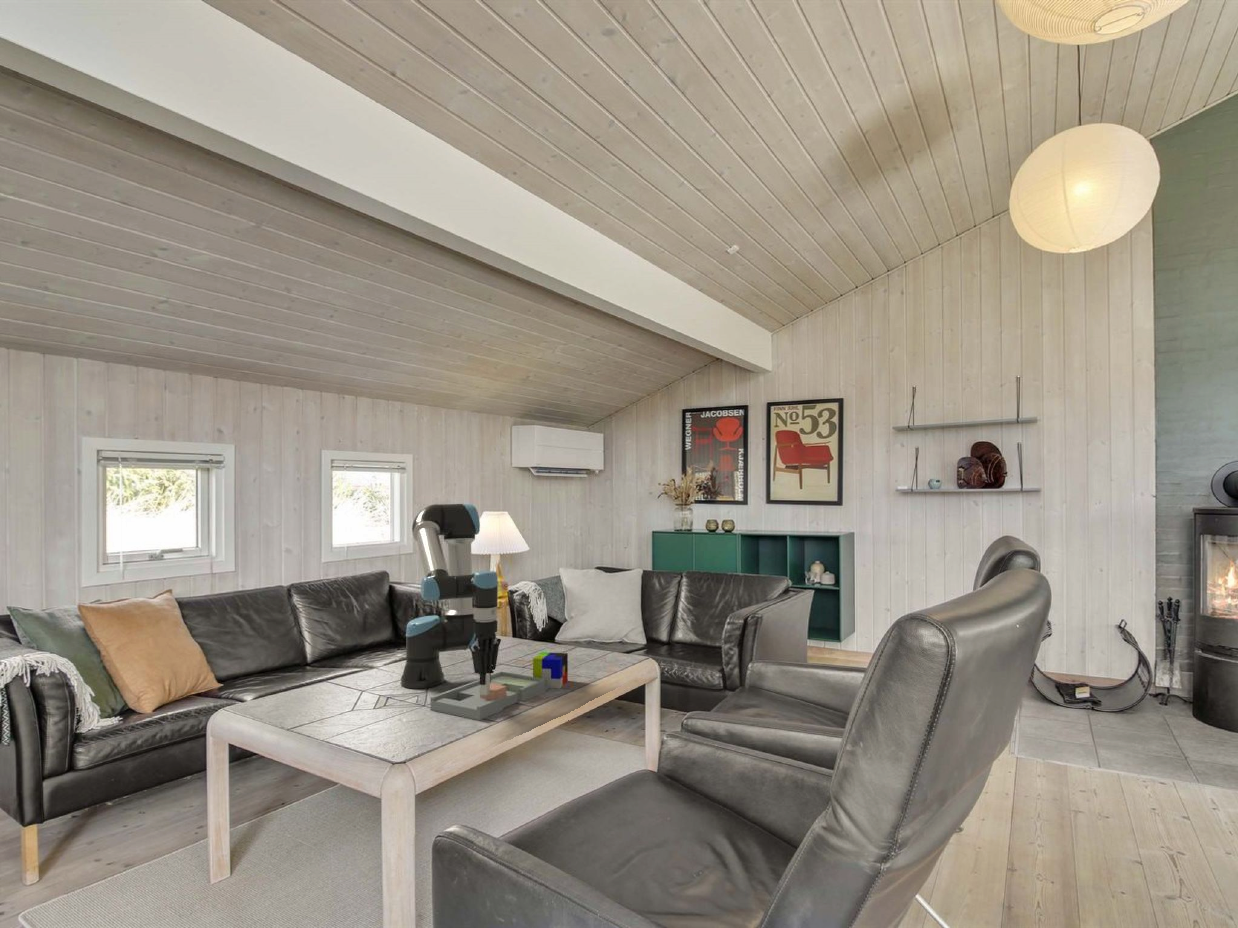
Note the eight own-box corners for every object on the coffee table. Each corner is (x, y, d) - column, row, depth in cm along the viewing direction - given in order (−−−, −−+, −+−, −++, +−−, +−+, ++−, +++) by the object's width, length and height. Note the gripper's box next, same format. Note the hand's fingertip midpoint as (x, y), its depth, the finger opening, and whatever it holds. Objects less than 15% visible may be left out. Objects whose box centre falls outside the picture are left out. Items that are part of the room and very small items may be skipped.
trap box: (430, 709, 221) (430, 697, 221) (501, 682, 252) (501, 671, 252) (479, 720, 211) (479, 707, 211) (547, 690, 242) (547, 679, 242)
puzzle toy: (559, 688, 245) (559, 659, 245) (532, 686, 247) (532, 658, 247) (567, 680, 254) (567, 653, 255) (541, 679, 256) (541, 652, 257)
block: (479, 697, 224) (479, 688, 224) (492, 692, 229) (492, 683, 229) (494, 700, 221) (494, 690, 221) (506, 695, 226) (506, 686, 226)
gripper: (480, 624, 215) (480, 701, 215) (507, 617, 227) (507, 690, 226) (462, 622, 219) (462, 697, 218) (489, 615, 230) (489, 687, 230)
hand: (485, 694), depth 222 cm, fingers closed
